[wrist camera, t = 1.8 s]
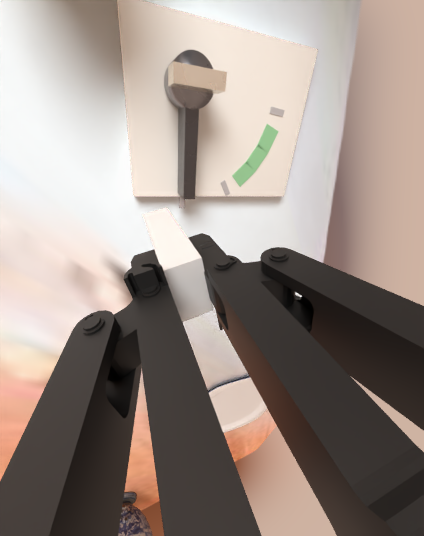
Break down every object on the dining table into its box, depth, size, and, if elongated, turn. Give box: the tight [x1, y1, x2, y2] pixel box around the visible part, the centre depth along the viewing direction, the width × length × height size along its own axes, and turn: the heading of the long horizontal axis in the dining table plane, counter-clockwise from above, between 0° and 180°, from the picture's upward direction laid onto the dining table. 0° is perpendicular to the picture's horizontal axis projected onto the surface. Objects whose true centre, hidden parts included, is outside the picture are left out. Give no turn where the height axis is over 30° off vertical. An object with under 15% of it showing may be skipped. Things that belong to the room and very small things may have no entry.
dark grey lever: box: [164, 50, 227, 199], centre depth 24 cm, size 13×5×5 cm, turn 175°
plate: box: [208, 377, 267, 433], centre depth 66 cm, size 25×25×2 cm
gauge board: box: [117, 0, 318, 208], centre depth 29 cm, size 18×22×2 cm
